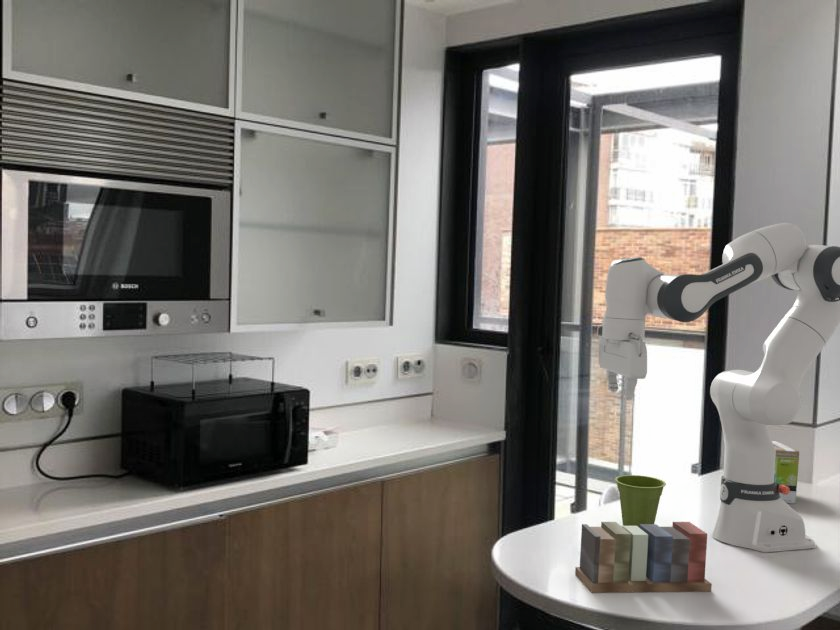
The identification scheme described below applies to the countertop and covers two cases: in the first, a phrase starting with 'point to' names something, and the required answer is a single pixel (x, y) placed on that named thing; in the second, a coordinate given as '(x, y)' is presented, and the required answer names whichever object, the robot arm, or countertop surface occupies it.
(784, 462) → the tea box
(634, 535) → the pale green box
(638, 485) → the plant pot
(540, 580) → the countertop surface
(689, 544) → the book rack
